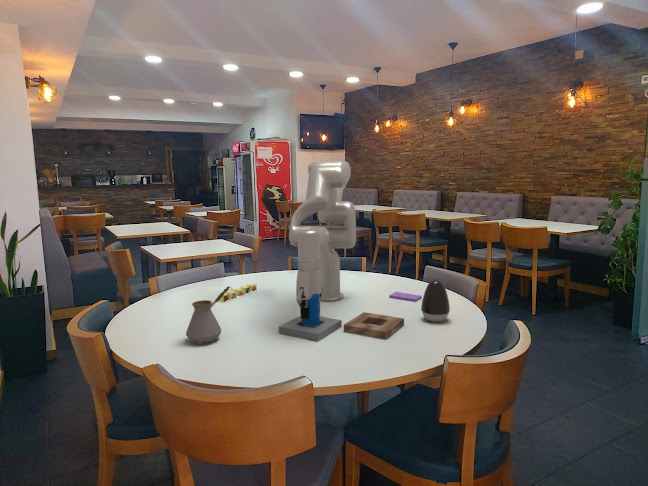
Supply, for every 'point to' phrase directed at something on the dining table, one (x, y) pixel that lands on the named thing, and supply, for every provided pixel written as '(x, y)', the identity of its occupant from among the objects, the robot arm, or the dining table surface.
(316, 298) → the beverage can
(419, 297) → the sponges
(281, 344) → the dining table surface
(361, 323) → the socket
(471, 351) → the dining table surface
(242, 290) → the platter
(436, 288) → the black rounded egg shape
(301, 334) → the socket
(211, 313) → the coffee pot
